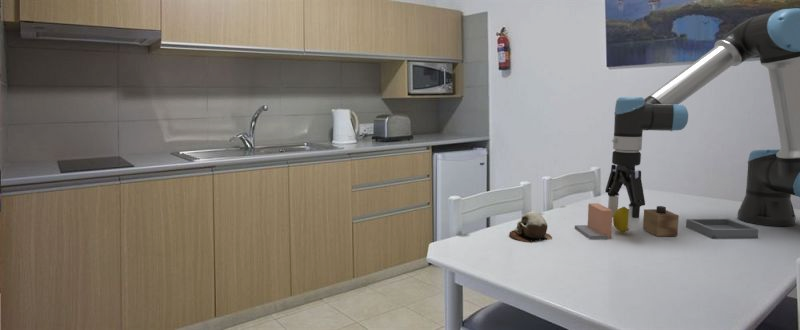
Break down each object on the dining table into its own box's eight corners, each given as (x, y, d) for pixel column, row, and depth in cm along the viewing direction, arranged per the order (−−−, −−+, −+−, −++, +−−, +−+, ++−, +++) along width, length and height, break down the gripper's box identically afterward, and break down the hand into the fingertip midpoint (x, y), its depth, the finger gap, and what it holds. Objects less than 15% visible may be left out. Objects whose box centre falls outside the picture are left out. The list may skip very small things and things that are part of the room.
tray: (727, 226, 156) (728, 218, 156) (757, 238, 143) (758, 229, 143) (685, 226, 156) (686, 218, 156) (712, 238, 143) (712, 229, 143)
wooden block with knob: (662, 228, 153) (664, 204, 152) (677, 235, 145) (679, 209, 144) (643, 228, 153) (644, 204, 152) (656, 235, 145) (658, 210, 144)
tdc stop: (595, 228, 155) (597, 202, 154) (612, 239, 143) (614, 211, 142) (574, 228, 155) (575, 202, 154) (589, 239, 143) (591, 211, 142)
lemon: (635, 236, 146) (636, 209, 145) (614, 235, 147) (615, 208, 146) (630, 231, 151) (631, 205, 150) (610, 230, 152) (611, 204, 151)
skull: (497, 231, 149) (517, 203, 151) (518, 251, 153) (537, 223, 155) (524, 240, 138) (544, 210, 140) (546, 261, 142) (565, 231, 144)
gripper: (596, 146, 158) (593, 213, 161) (634, 155, 134) (629, 234, 136) (620, 146, 158) (616, 213, 161) (662, 155, 134) (656, 234, 136)
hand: (622, 222), depth 149 cm, fingers open, 13 cm apart
